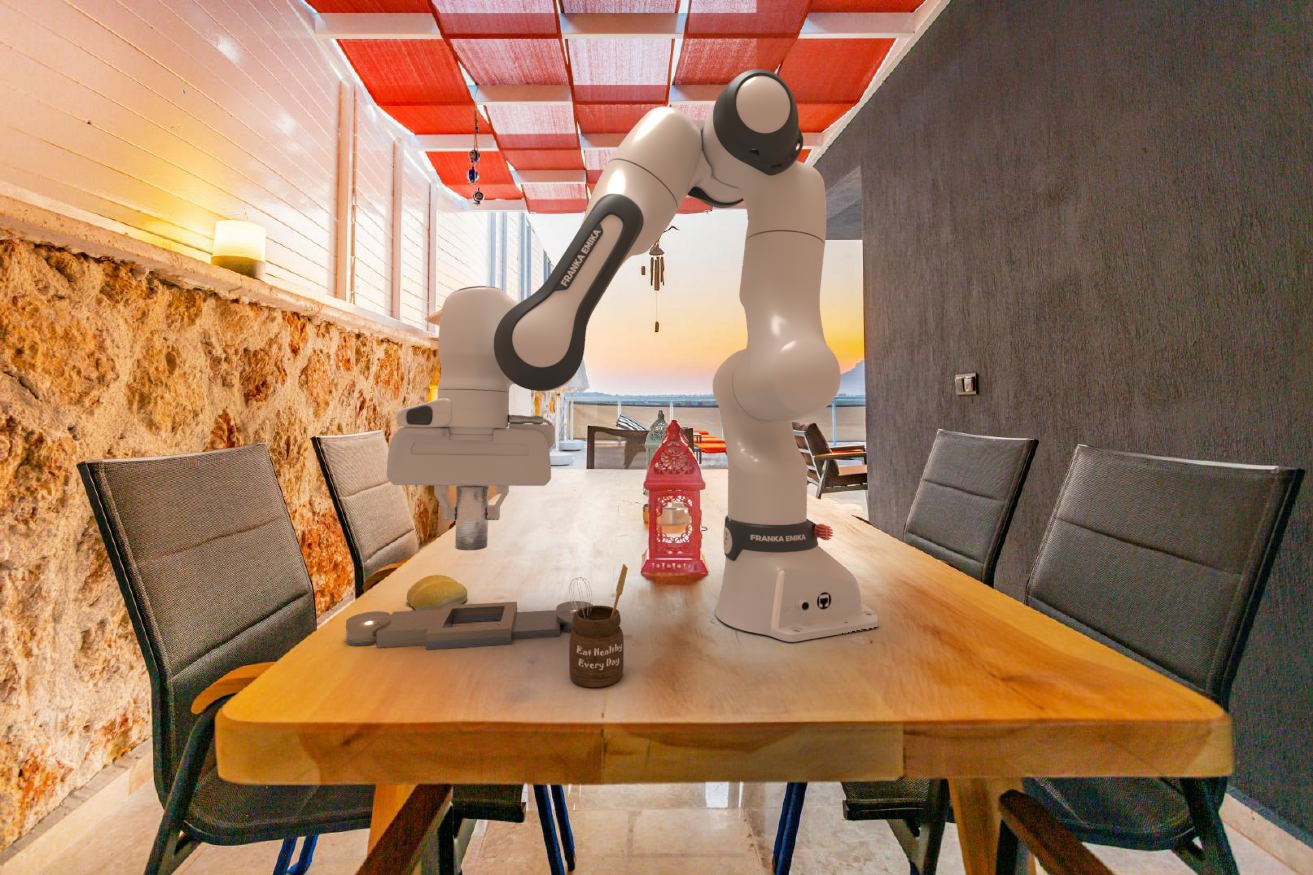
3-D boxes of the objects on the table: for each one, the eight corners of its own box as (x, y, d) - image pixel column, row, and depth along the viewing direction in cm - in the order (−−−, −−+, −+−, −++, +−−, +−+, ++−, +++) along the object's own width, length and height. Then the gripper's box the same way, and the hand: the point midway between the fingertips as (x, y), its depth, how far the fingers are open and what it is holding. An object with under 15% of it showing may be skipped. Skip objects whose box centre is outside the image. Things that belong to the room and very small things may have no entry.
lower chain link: (590, 611, 79) (590, 594, 79) (595, 638, 69) (595, 619, 69) (443, 619, 75) (442, 601, 75) (426, 649, 66) (425, 629, 66)
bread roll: (420, 618, 77) (419, 590, 76) (401, 601, 83) (401, 576, 83) (477, 605, 82) (477, 579, 82) (455, 591, 89) (455, 566, 89)
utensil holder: (564, 667, 61) (565, 562, 61) (619, 660, 63) (619, 558, 63) (573, 693, 56) (573, 577, 55) (632, 684, 58) (633, 572, 57)
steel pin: (489, 543, 73) (490, 484, 73) (485, 550, 69) (486, 488, 69) (458, 543, 73) (459, 483, 72) (452, 550, 69) (453, 487, 68)
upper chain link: (517, 615, 77) (517, 598, 77) (511, 644, 67) (511, 624, 67) (361, 624, 74) (361, 605, 73) (331, 655, 64) (331, 635, 64)
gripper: (555, 416, 75) (552, 514, 76) (398, 411, 72) (396, 515, 72) (554, 416, 69) (552, 523, 70) (382, 411, 66) (381, 524, 66)
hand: (471, 519), depth 71 cm, fingers closed on steel pin, 4 cm apart
